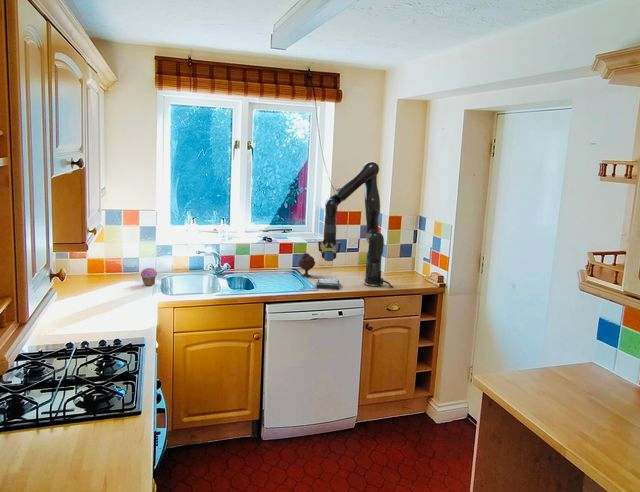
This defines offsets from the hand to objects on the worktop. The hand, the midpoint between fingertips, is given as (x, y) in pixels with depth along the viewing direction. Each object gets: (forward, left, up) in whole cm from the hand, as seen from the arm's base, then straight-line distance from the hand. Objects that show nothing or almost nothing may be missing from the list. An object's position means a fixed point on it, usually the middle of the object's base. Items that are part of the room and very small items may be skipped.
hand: (328, 258), depth 285 cm
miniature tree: (+15, -15, -16) cm, 26 cm away
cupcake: (+103, +26, -16) cm, 107 cm away
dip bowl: (0, 0, -1) cm, 1 cm away
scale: (0, +6, -16) cm, 17 cm away
